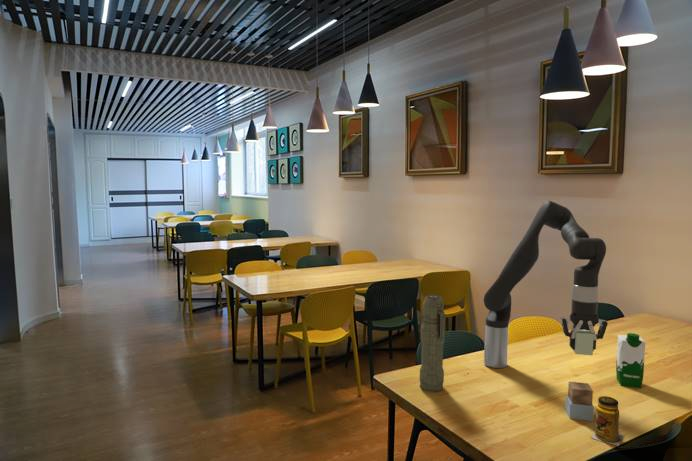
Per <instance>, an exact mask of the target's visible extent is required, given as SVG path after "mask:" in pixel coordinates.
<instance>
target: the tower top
mask: <svg viewBox="0 0 692 461" xmlns="http://www.w3.org/2000/svg"><path fill="white" fill-rule="evenodd" d="M567 389H568V390H567V391H568V392H567V395H568V397H569V399H570V401H571V403H572V404H581V405H590V406H592V404H593V399H594V398H593V397H594V396H593V394H594V390H593V389H592V387H591V385H590V384H589V383H588V382H587V383H586V382H580V381H579V382H578V381H577V382H576V381H568V388H567Z"/></svg>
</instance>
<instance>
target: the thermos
mask: <svg viewBox="0 0 692 461" xmlns="http://www.w3.org/2000/svg"><path fill="white" fill-rule="evenodd" d="M444 307H445V306H444V300H443V297H441V296H440V295H437V294H428V295H425V297H424V299H423V303H422V307H421V314H420V320H421V322H420V324H421V325H420V343H421V364H420V365H421V366H420V367H419V388H420V389H421V390H422V391H424V392H428V393H439V392H442V391H443V390H444V381H445V380H444V378H445V371H444V368H443V364H444V363H443V362H444V360H443V359H444V345H445V340H446V338H445V337H446V333H445V332H446V317H447V316H446V312H445V311H444V310H445V308H444Z"/></svg>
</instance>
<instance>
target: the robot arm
mask: <svg viewBox="0 0 692 461" xmlns="http://www.w3.org/2000/svg"><path fill="white" fill-rule="evenodd" d="M544 226H547V227H548V228H551V229H554V230H558V231H560V235H561V236H560V237H562V239H563V241H564V243H566V244H567V245H568V250H569V254H570V256H571V257H572V258H573V259H575V260H588V263H586V264H585V265H582V266H577V267H575V269H574V270H573V271H574V272H573V286H572V293H571V313H570V315H569V316H566V317H564V316H561V317H560V320H561V326H562V330H563V334H564V335H565V337H567V338H569V342H568V343H569V347H570V348H571V350H572V351H573V350H575V337H576V332H578V331H579V330H589V331H590V333H593V334H594V338H593V352H594V351H595V350H596V349H597V340H603V339H604V336H605V333H606V330H607V327H608V324H609V323H608V322H607V320H605V319H600V318H599V316H598V309H599V308H598V307H599V274H600V270H601V267H602V264H603V262H604V259H605V256H606V253H607V244H606V243H605V241H604V239H602V238H599V237H590V236H589V234H588V232H587V231H586V230H585V229H584V228H582V227H581V226H580V225H579V224H578V222H577V220H576V219H575V217H574V214H572V212H571V210H570V209H569V208H568V207H565V206H563V205H561V204H558V203H556V202H554V201H552V200H546V201H545V202H544V203H542V205H541V206H540V208H539V209H538V211H537V212H536V213H535V215H534V218H533V220H532V222H531V224H530V226H529V227H528V229H527V231H526V232H525V233H524V235H523V237H522V239H520V242H519V243H518V245H517V246H516V247H515V249H514V251H512V253H511V255H510V256H509V259H508V261H507V262H506V264H505V265H504V267H503V269H502V270H501V271H500V274H499V275H498V277H497V279H496V280H495V281H494V282H493V283H492V285H491V286H490V287H489V288H488V290H486V292H485V294H484V296H483V304H484V307H485V308H486V309H487V310H489V312H488V314H487V316H486V317H485V330H484V331H485V332H484V335H485V336H484V349H483V350H484V351H483V356H484V357H483V363H484V366H487V367H489V368H493V369H503V368H504V369H505V368H507V366H508V345H509V344H508V342H509V340H508V339H509V322H510V319H511V314H512V313H511V312H512V297H511V296H512V295H511V292H512V291H513V289H514V288H515V287H516V285H517V284H519V283H520V282H521V281H522V280H523V278H525V277H526V276H527V274H529V273H530V271H531V270H532V268H533V267H534V265H535V264H536V262H537V261H538V259H539V255H540V250H539V247H540V245H539V238H540V234H541V231H542V229H543V227H544ZM570 322H571V323H572V324H573V325H572V327H571V331H569V326H568V325H570ZM597 324H598V326H599V327H598V330H597V334H596V331H595V328H594V327H595V326H596V325H597Z"/></svg>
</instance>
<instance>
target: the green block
mask: <svg viewBox="0 0 692 461" xmlns="http://www.w3.org/2000/svg"><path fill="white" fill-rule="evenodd" d="M593 338H594V334H593V333H590V331H589V330H579V331H578V332H576V337H575V350H572V351H573V352H574V354H575V355H583V356H593V355H594V351H593Z"/></svg>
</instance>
